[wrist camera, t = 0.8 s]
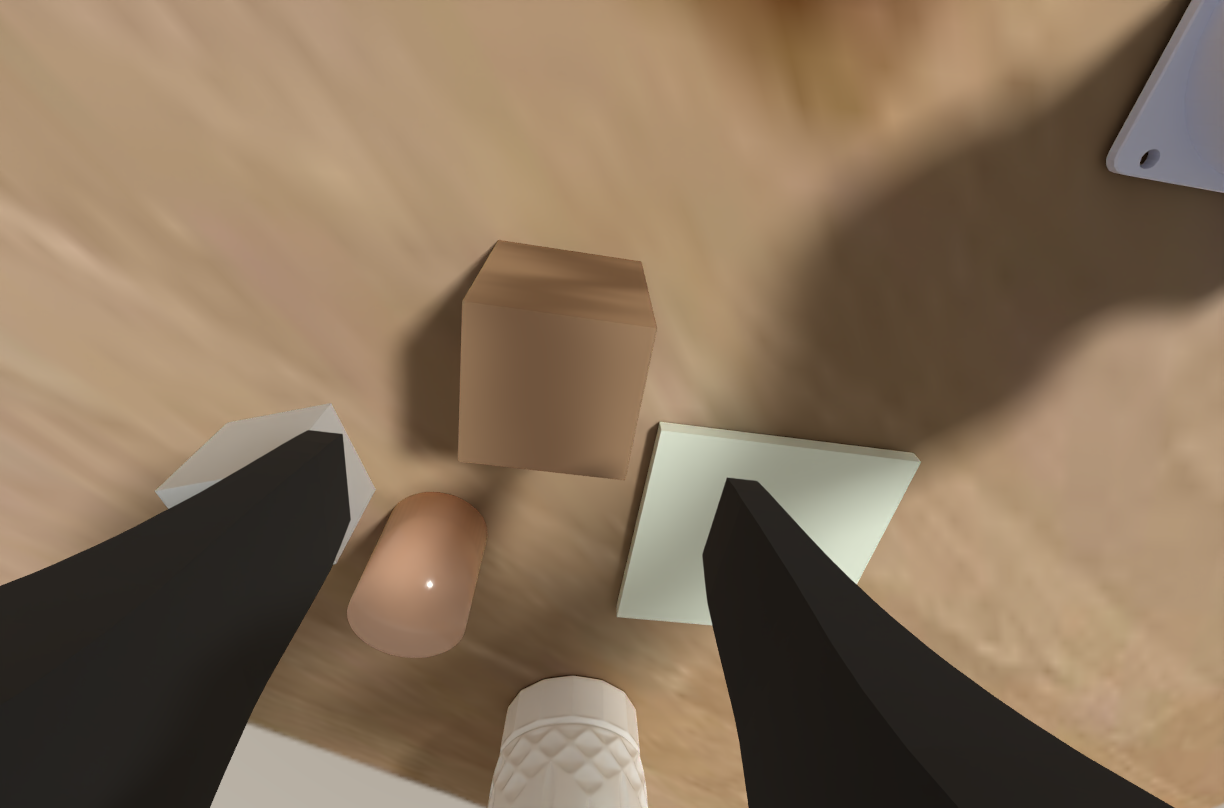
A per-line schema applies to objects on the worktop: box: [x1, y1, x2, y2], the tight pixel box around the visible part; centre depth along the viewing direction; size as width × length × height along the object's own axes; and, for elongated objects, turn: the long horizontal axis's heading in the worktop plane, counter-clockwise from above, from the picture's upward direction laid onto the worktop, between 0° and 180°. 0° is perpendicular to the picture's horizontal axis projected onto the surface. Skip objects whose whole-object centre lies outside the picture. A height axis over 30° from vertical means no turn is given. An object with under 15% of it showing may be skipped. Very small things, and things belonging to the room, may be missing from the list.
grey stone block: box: [155, 403, 376, 564], centre depth 20 cm, size 4×4×4 cm
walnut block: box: [458, 240, 657, 480], centre depth 17 cm, size 4×4×6 cm
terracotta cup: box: [347, 492, 487, 658], centre depth 22 cm, size 4×4×4 cm
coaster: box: [616, 422, 921, 625], centre depth 24 cm, size 10×10×1 cm
